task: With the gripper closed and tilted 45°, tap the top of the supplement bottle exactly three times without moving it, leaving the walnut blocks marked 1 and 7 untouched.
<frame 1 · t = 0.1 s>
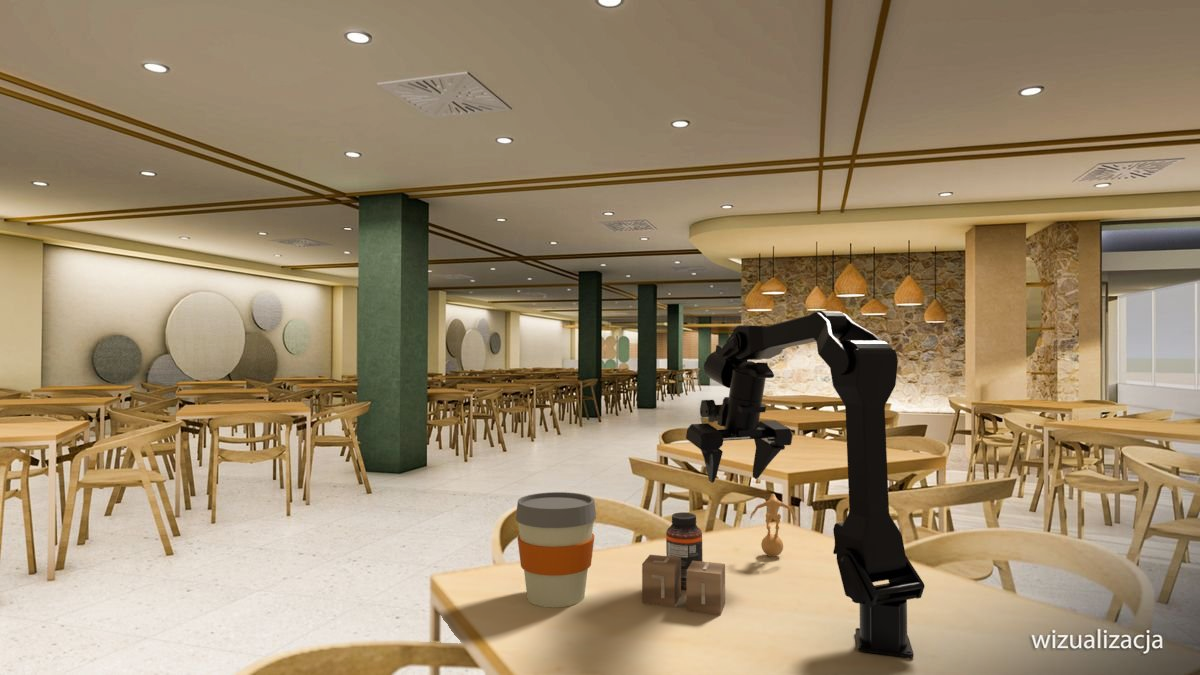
hand: (733, 479, 119), 15 cm above the table, tool pointing down, fingers open, 9 cm apart
block one: (706, 607, 100), on the table
supplement bottle: (684, 585, 110), on the table
reusable coffee cup: (556, 597, 104), on the table
block seven: (661, 599, 103), on the table
figurine: (773, 558, 124), on the table
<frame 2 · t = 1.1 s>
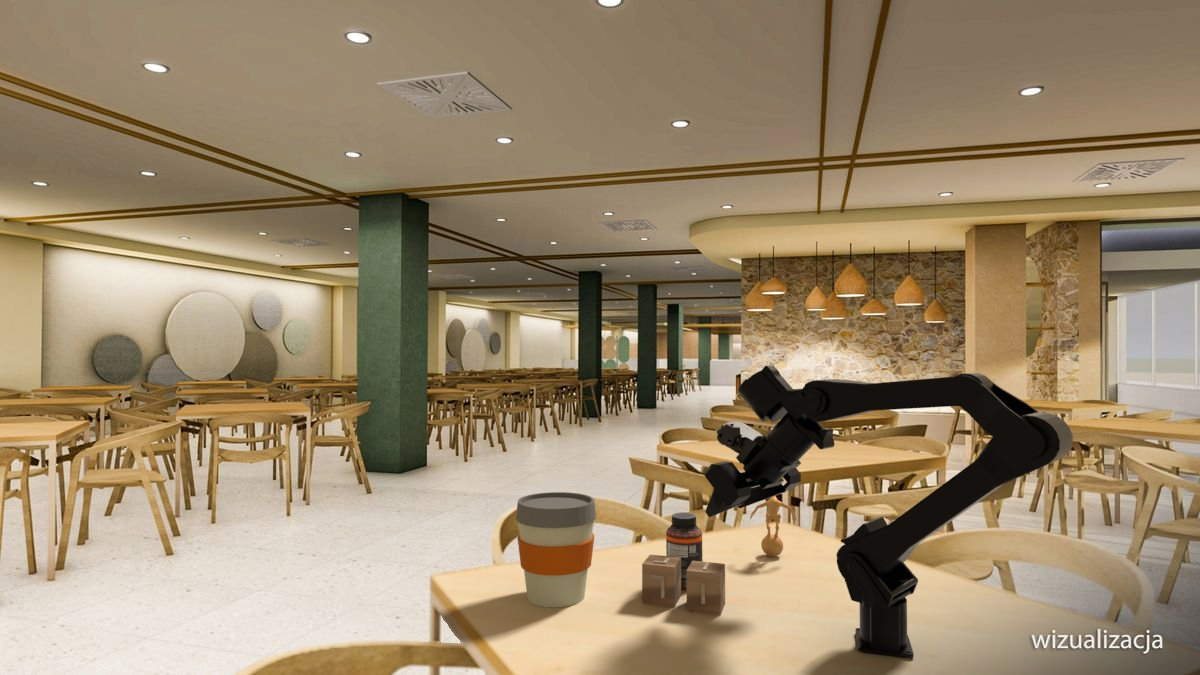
hand: (723, 510, 105), 13 cm above the table, tool tilted 45°, fingers open, 8 cm apart
nothing on the table moved.
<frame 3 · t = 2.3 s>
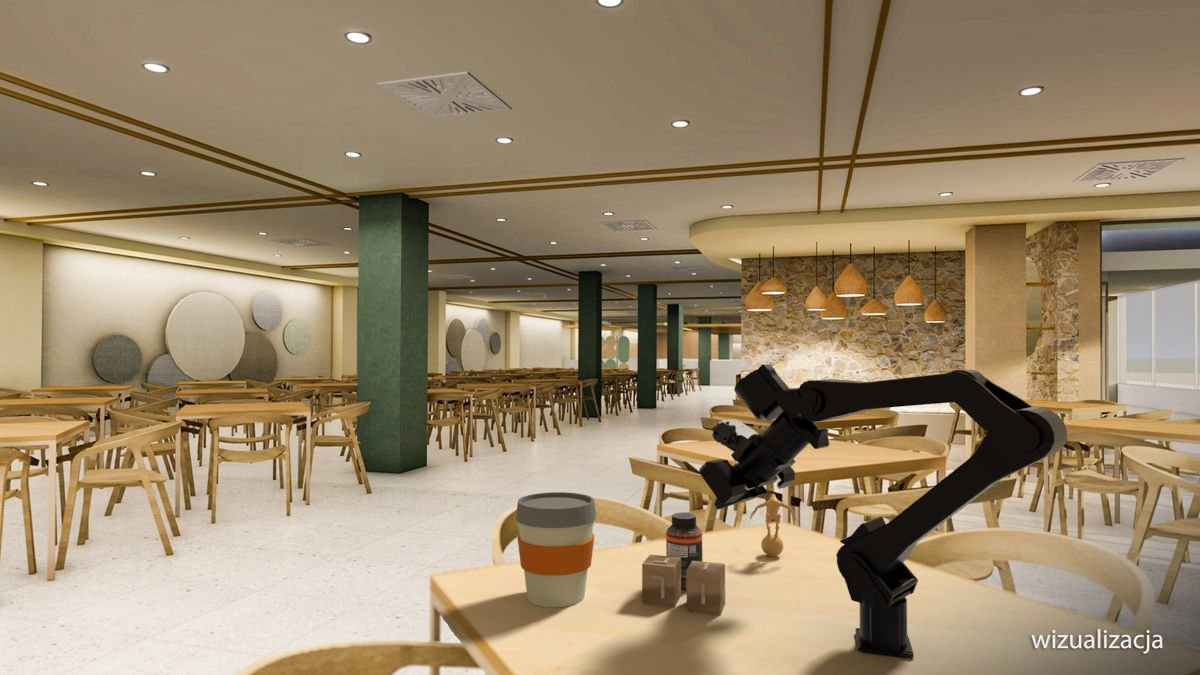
hand: (717, 506, 106), 14 cm above the table, tool tilted 45°, fingers closed
nothing on the table moved.
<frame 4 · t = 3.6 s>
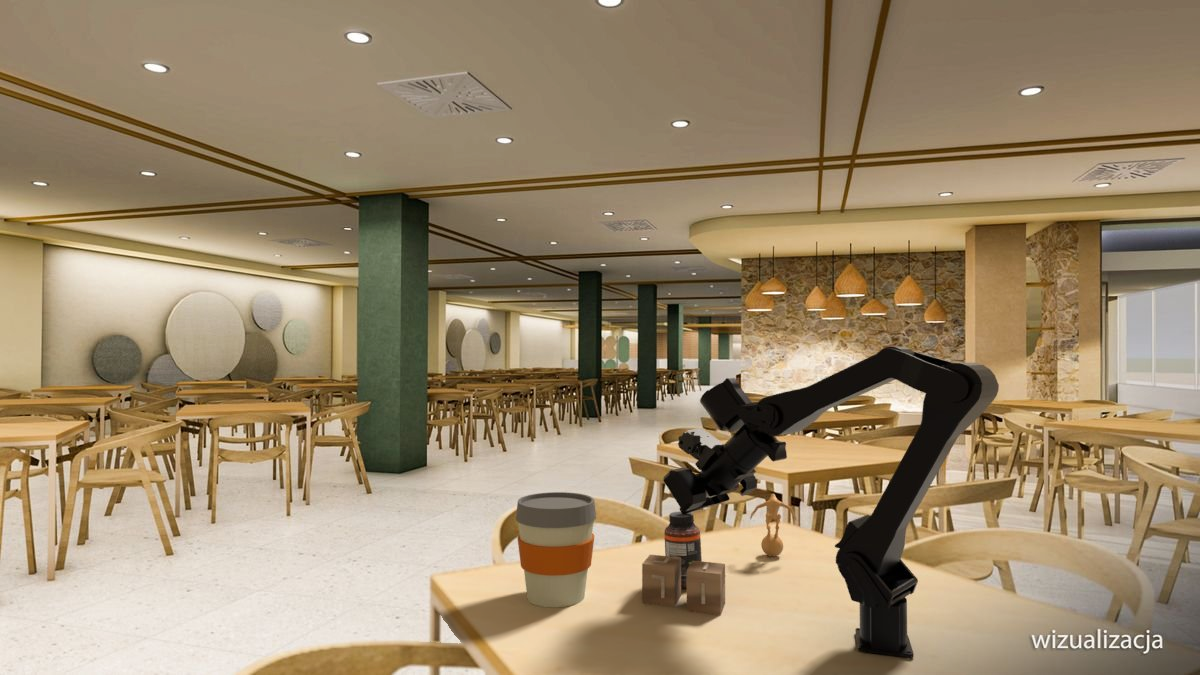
hand: (682, 511, 111), 12 cm above the table, tool tilted 45°, fingers closed, pressing on supplement bottle
supplement bottle: (684, 584, 110), on the table, touching gripper
everything else where it was.
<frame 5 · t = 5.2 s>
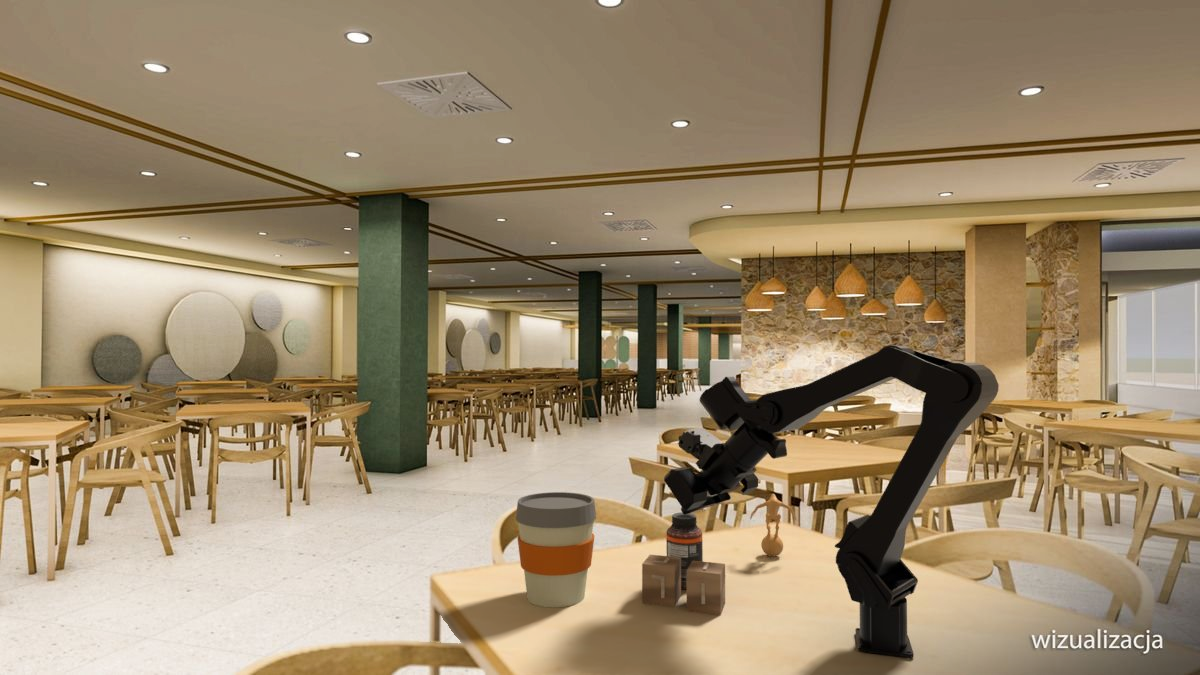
hand: (683, 511, 110), 12 cm above the table, tool tilted 45°, fingers closed
supplement bottle: (684, 584, 110), on the table
everything else where it was.
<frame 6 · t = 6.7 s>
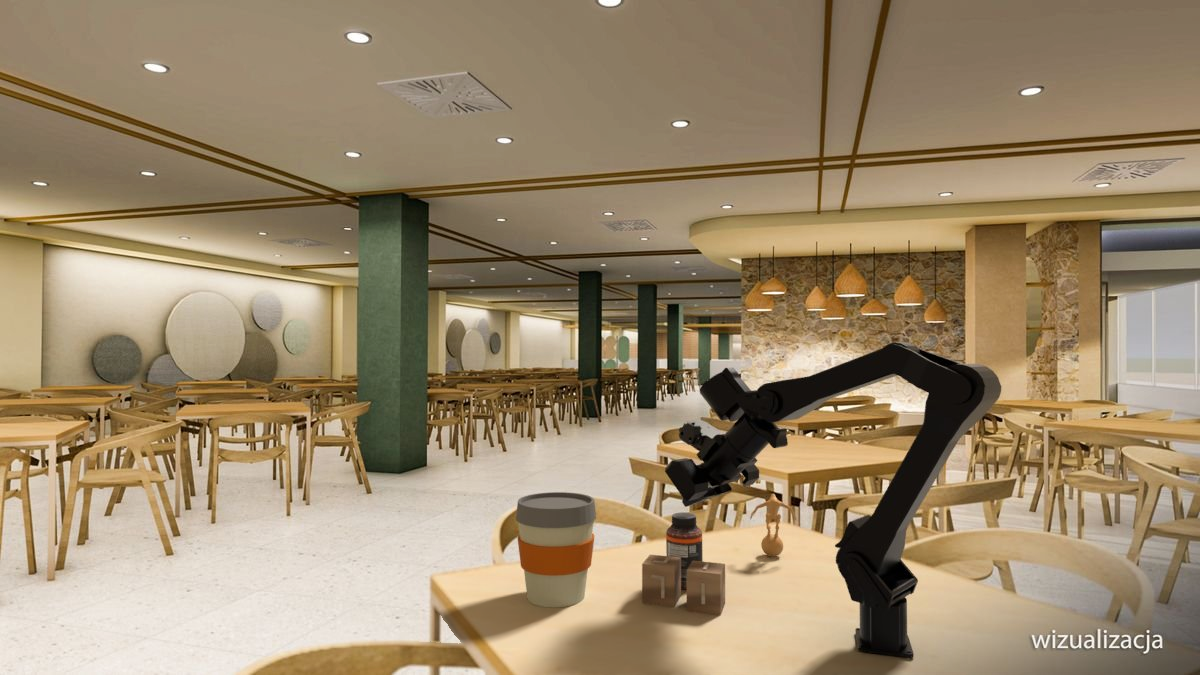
hand: (684, 504, 110), 13 cm above the table, tool tilted 45°, fingers closed
nothing on the table moved.
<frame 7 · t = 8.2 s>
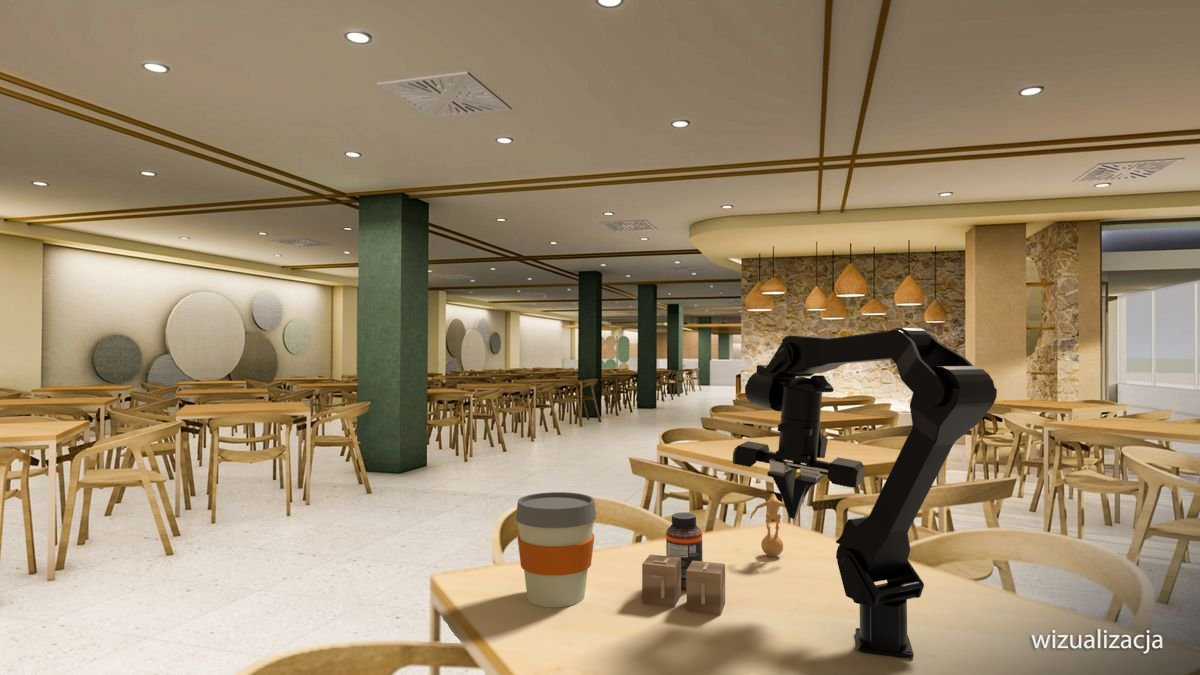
hand: (792, 517, 102), 13 cm above the table, tool pointing down, fingers closed
nothing on the table moved.
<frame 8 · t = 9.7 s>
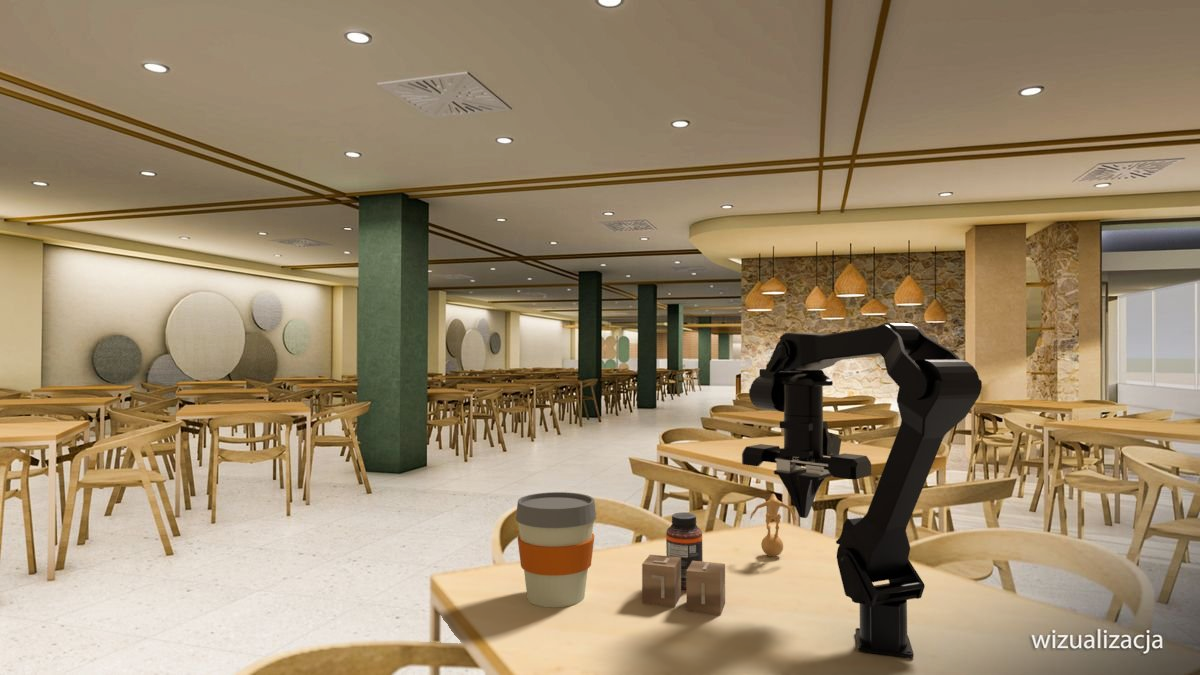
hand: (803, 517, 102), 13 cm above the table, tool pointing down, fingers closed
nothing on the table moved.
at the end: supplement bottle moved 0.2 cm from its start; supplement bottle tilted 0°; block seven moved 0.1 cm from its start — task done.
